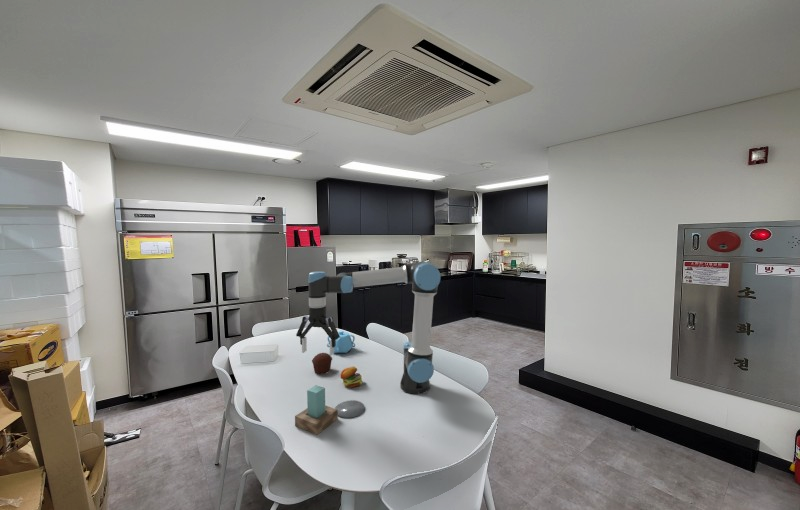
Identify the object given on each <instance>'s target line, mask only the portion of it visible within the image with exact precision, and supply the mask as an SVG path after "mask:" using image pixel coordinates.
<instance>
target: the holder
mask: <svg viewBox="0 0 800 510" xmlns="http://www.w3.org/2000/svg"><path fill="white" fill-rule="evenodd" d="M338 419H339V416H338V410H337V409H335V407H331V406H328V405H325V413H324V414H323V415H322V416H320V417H319V418H317V419H316V418H313V417H310V416H308V407H307V408H305V409H304V410H303V411H301V412H299V413H297V414H296V415H294V426H295V427H297V428H300V429H302V430H304V431H307V432H310V433H312V434H314V435H319V434H320V433H321V432H322V431H324V430H325V429H326V428H328V427H329V426H330V425H331V424H333V423H334V422H336V421H337V420H338Z"/></svg>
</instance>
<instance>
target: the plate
mask: <svg viewBox="0 0 800 510" xmlns="http://www.w3.org/2000/svg"><path fill="white" fill-rule="evenodd" d="M334 409H337V410H338V418H342V419H352V418H357V417H359V416H360V415H362V414H363V413H364V411H365V404H364V403H363V402H361V401H359V400H353V399H352V400H351V399H350V400H345V401H341V402H340V403H338V404H337V405H336V406H335V407H334Z"/></svg>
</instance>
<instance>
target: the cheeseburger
mask: <svg viewBox="0 0 800 510" xmlns="http://www.w3.org/2000/svg"><path fill="white" fill-rule="evenodd" d="M357 371H358V368H357V367H355V366H349V367H346V368H343V369H342V370H341V372H340V375H339V376H340V379H342V384H343V385H344V386H345V387H346V388H354V387H358V386H361V385H362V384H363V380H362V379H363V378H362V374H361V373H358V372H357Z"/></svg>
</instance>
